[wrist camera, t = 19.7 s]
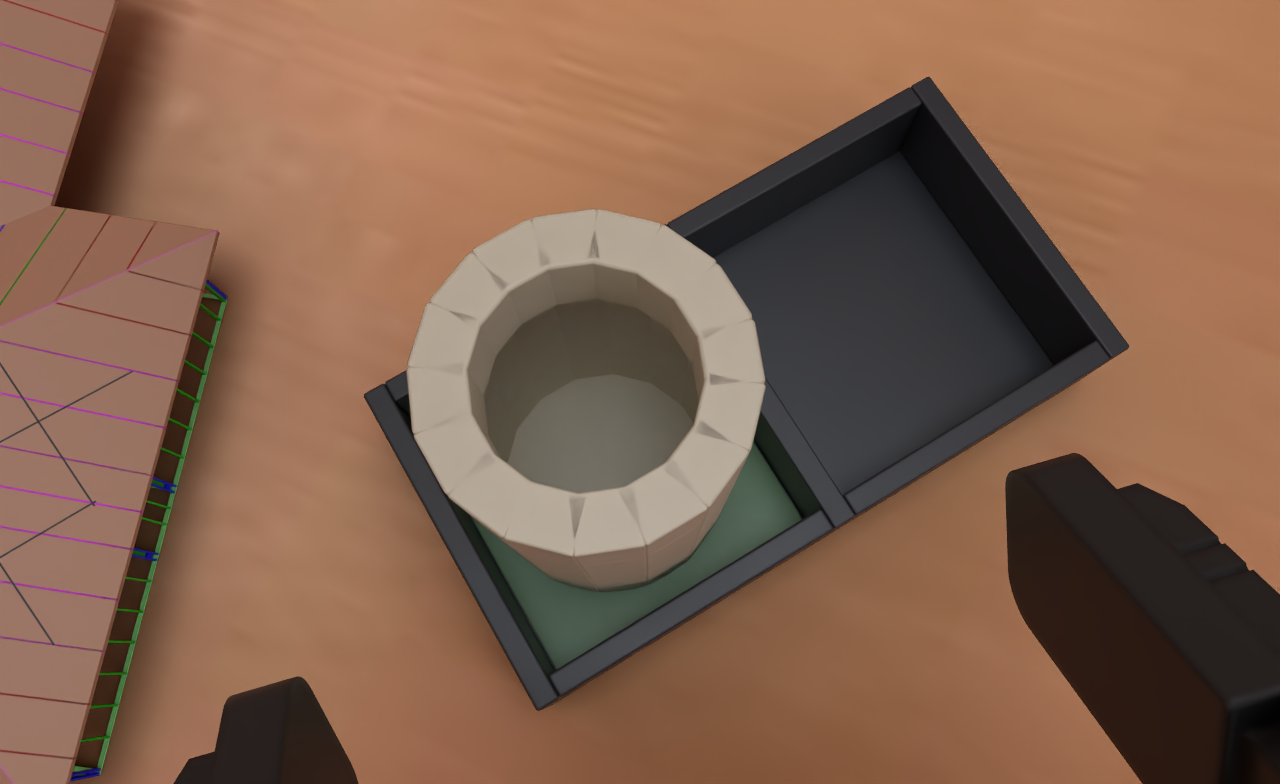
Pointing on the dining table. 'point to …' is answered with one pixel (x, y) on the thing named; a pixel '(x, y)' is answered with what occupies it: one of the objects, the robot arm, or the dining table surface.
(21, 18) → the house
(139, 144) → the dining table surface
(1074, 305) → the tray
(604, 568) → the jar
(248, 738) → the robot arm
